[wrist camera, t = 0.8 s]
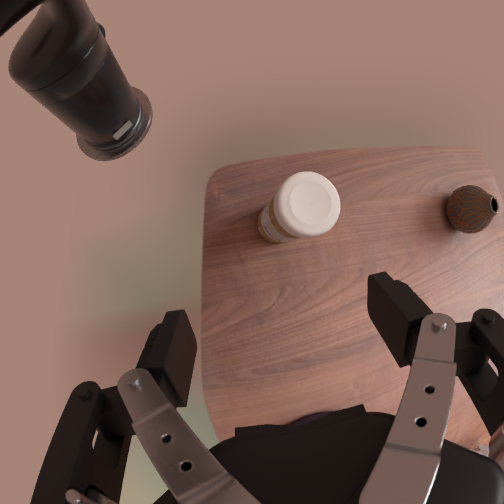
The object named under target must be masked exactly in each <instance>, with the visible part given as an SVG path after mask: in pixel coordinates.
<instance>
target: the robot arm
mask: <svg viewBox="0 0 504 504" xmlns="http://www.w3.org/2000/svg"><path fill="white" fill-rule="evenodd" d="M40 4H41V7H40V9H39V11H38V12H37V14H36V16H35V18H34V19H33V21H32V22H31V23H30V25H29V26H28V28H27V29H26V30H25V32H24V33H23V35H22V36H21V37H20V39H19V40H18V42H17V44H16V46H15V47H14V50H13V51H12V54H11V56H10V60H9V66H8V68H9V74H10V76H11V78H12V79H13V80H14V81H15V82H16V83H17V84H18V85H19V86H20V87H22V88H23V89H24V90H25V91H26V92H28V93H29V94H30V95H31V96H32V97H33V98H35V99H36V100H37V101H38V102H39V103H41V104H42V105H43V106H44V107H45V108H47V109H48V110H49V111H50V112H51V113H52V114H54V115H55V116H56V117H57V118H58V119H59V120H61V121H62V122H63V123H64V124H65V125H67V126H68V127H69V128H70V129H71V130H73V131H74V132H75V133H76V134H77V135H78V136H80V137H81V138H82V139H83V140H84V141H85V142H86V143H87V144H88V145H89V146H91V147H92V148H94V149H97V150H110V149H113V148H116V147H118V146H120V145H122V144H123V143H125V142H126V141H127V140H128V139H129V138H130V137H131V136H132V135H133V134H134V133H135V131H136V130H137V128H138V126H139V124H140V122H141V118H142V106H141V104H140V102H139V100H138V98H137V97H136V96H135V94H134V92H133V90H132V88H131V86H130V84H129V83H128V81H127V79H126V77H125V75H124V73H123V72H122V70H121V68H120V66H119V64H118V62H117V60H116V58H115V57H114V55H113V53H112V51H111V49H110V47H109V46H108V43H107V41H106V40H105V30H104V28H103V27H102V26H101V25H100V24H98V23H97V22H96V20H95V18H94V16H93V15H92V13H91V11H90V9H89V7H88V6H87V4H86V1H85V0H0V37H1V36H2V35H3V34H4V33H6V32H7V31H8V30H9V29H10V28H11V27H12V26H13V25H15V24H16V23H17V22H18V21H19V20H20V19H21V18H23V17H24V16H25V15H27V14H28V13H29V12H30V11H31V10H33V9H34V8H35V7H37V6H38V5H40ZM367 308H368V313H369V316H370V319H371V320H372V322H373V324H374V325H375V327H376V328H377V330H378V332H379V333H380V335H381V337H382V338H383V340H384V342H385V343H386V345H387V347H388V348H389V350H390V352H391V353H392V355H393V357H394V358H395V360H396V362H397V364H398V365H399V367H400V368H401V367H404V366H407V365H410V367H411V369H410V373H409V377H408V380H407V383H406V387H405V390H404V393H403V396H402V399H401V402H400V405H399V408H398V411H397V414H396V416H394V415H391V414H387V413H382V412H366V410H365V408H364V405H363V404H361V405H358V406H354V407H350V408H347V409H343V410H339V411H335V412H332V413H329V414H327V415H325V416H323V417H321V418H318V419H316V420H314V421H312V422H309V423H307V424H304V425H301V426H288V425H270V424H265V425H257V426H248V427H238V428H235V437H232V438H229V439H227V440H224V441H222V442H220V443H218V444H217V445H215V446H214V447H212V448H211V449H209V450H208V449H207V448H206V447H205V446H204V444H203V443H202V442H201V441H200V440H199V438H198V437H197V436H196V435H195V433H194V432H193V431H192V430H191V429H190V427H189V426H188V425H187V424H186V422H185V421H184V420H183V418H182V417H181V416H180V414H179V413H178V412H177V410H176V408H177V407H186V406H187V400H188V395H189V389H190V384H191V378H192V373H193V368H194V362H195V357H196V352H197V343H196V338H195V335H194V332H193V330H192V327H191V325H190V322H189V319H188V317H187V314H186V312H185V310H176V311H168V312H166V315H165V317H164V320H163V322H162V324H157V325H156V326H155V328H154V329H153V330H152V331H151V332H150V334H149V337H148V339H147V341H146V344H145V348H144V349H143V351H142V353H141V356H140V358H139V361H138V363H137V366H136V368H135V369H133V370H130V371H128V372H126V373H125V374H124V375H123V376H122V377H121V378H120V379H119V381H118V385H117V386H113V387H109V388H106V389H102V390H101V388H100V387H99V386H98V384H97V383H96V382H93V381H87V382H83V383H81V384H79V385H78V386H77V387H75V389H74V390H73V391H72V393H71V395H70V398H69V400H68V402H67V404H66V406H65V409H64V411H63V413H62V415H61V418H60V420H59V423H58V425H57V427H56V430H55V433H54V435H53V437H52V440H51V443H50V445H49V448H48V451H47V453H46V456H45V459H44V461H43V464H42V467H41V470H40V473H39V476H38V479H37V482H36V486H35V489H34V492H33V496H32V500H31V503H30V504H119V501H120V495H121V489H122V483H123V478H124V472H125V467H126V462H127V457H128V452H129V447H130V442H131V438H132V435H137V437H138V439H139V440H140V442H141V444H142V446H143V448H144V449H145V451H146V453H147V455H148V456H149V458H150V460H151V462H152V463H153V465H154V466H155V468H156V470H157V471H158V473H159V475H160V476H161V478H162V479H163V481H164V482H165V484H166V485H167V487H168V488H169V489H168V490H167V491H166V492H165V493H164V494H163V495H162V496H161V497H160V498H159V499H157V501H155V502H154V503H153V504H504V319H503V318H502V317H501V316H500V315H499V314H498V313H497V312H496V311H494V310H491V309H479V310H477V311H476V312H475V313H474V314H473V317H472V321H471V322H462V323H455V321H454V320H453V319H452V318H451V317H449V316H448V315H445V314H441V313H433V312H432V311H431V310H430V308H429V307H428V306H427V305H426V304H425V303H424V302H423V301H422V300H421V299H420V298H419V297H418V295H417V294H416V293H415V292H413V290H412V289H411V288H410V287H409V286H408V285H407V284H405V283H403V282H401V281H399V280H395V281H394V280H393V279H392V278H391V277H390V276H389V275H388V274H387V273H386V272H380V273H376V274H372V275H369V276H368V297H367ZM489 358H490V359H491V361H492V362H493V363H494V365H495V366H496V368H497V370H498V376H497V375H496V373H495V372H494V370H493V369H492V367H491V366H490V365H489V363H488V360H489ZM455 376H458V377H459V379H460V381H461V382H462V384H463V386H464V387H465V389H466V391H467V393H468V394H469V396H470V398H471V400H472V401H473V403H474V405H475V407H476V409H477V411H478V412H479V414H480V416H481V418H482V420H483V422H484V424H485V426H486V428H487V430H488V432H489V434H490V436H491V439H490V442H489V454H488V457H487V456H484V455H482V454H479V453H477V452H474V451H472V450H469V449H467V448H465V447H462V446H460V445H457V444H455V443H453V442H450V441H448V440H446V439H444V437H445V433H446V428H447V424H448V419H449V414H450V409H451V403H452V397H453V391H454V384H455ZM96 430H97V431H98V435H97V439H96V442H95V446H94V449H93V447H92V441H93V438H94V435H95V432H96Z"/></svg>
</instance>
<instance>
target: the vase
mask: <svg viewBox="0 0 504 504" xmlns="http://www.w3.org/2000/svg"><path fill="white" fill-rule="evenodd" d="M446 211H447V216H448V219H449V221H450V223H451V224H452V226H453V227H454V228H455V229H457V230H458V231H461V232H463V233H477V232H480V231H482V230H483V229H485V228H486V227H487V226H488V225H489V224H490V222H491V220H492V219H493V217H494V216H495V215H496V214H497V213H498V211H499V204H498V201H497V199H496V198H495V197H494V196H492V195H490V194H488V193H487V192H486V191H485V190H483V189H482V188H480V187H477V186H473V185H467V186H463V187H460V188H458V189H456V190H455V191H454V192H453V193H452V194H451V195H450V197H449V199H448V201H447V207H446Z"/></svg>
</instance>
